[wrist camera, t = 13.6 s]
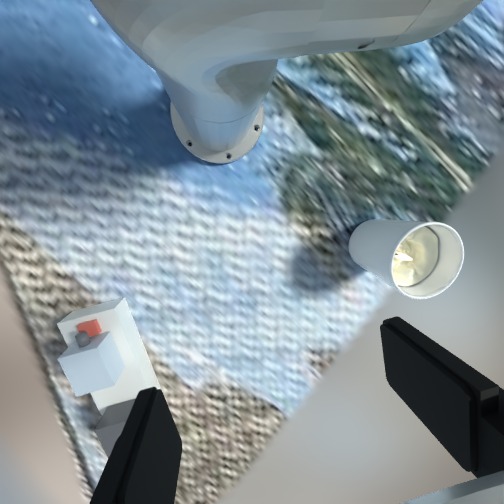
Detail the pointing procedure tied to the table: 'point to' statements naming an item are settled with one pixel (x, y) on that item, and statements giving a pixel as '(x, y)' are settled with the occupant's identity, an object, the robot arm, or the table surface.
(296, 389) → the table surface
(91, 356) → the grey plug
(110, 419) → the dark grey block
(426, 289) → the candle holder
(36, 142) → the table surface
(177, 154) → the table surface
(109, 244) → the table surface
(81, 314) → the power strip
